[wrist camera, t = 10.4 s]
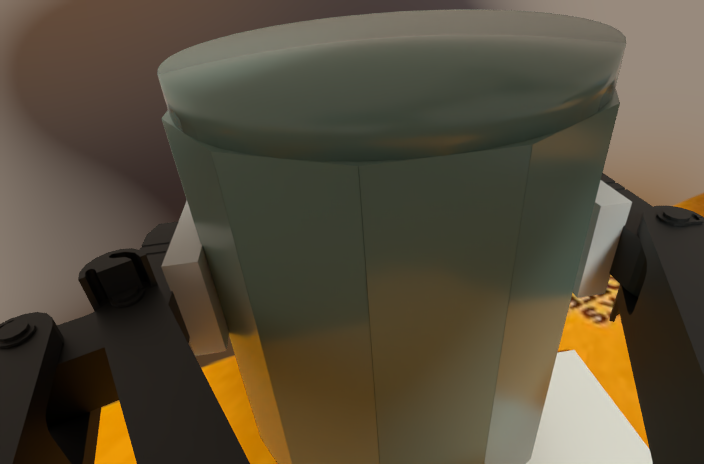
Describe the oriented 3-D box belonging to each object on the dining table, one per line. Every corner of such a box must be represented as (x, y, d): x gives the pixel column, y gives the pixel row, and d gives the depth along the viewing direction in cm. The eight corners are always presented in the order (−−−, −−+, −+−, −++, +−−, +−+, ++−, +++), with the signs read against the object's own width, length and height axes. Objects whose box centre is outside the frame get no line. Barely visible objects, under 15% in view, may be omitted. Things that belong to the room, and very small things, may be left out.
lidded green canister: (472, 283, 19) (498, 0, 13) (595, 493, 12) (778, 58, 6) (266, 313, 19) (198, 30, 13) (255, 558, 11) (76, 138, 5)
